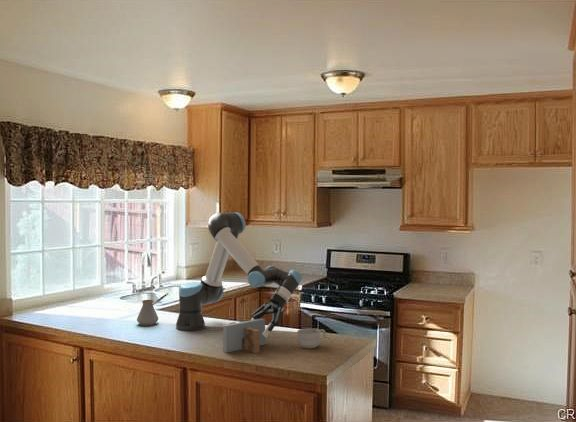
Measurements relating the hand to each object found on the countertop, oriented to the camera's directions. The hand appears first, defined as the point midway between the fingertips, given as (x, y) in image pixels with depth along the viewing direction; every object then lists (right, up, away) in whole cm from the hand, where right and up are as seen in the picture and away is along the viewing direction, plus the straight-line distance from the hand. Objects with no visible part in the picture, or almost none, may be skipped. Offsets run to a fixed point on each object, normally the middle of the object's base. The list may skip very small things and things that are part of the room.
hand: (255, 333), depth 259 cm
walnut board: (-5, -6, -4) cm, 9 cm away
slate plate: (-5, -6, -4) cm, 8 cm away
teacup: (+27, -6, -1) cm, 28 cm away
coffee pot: (-58, -4, +45) cm, 74 cm away
